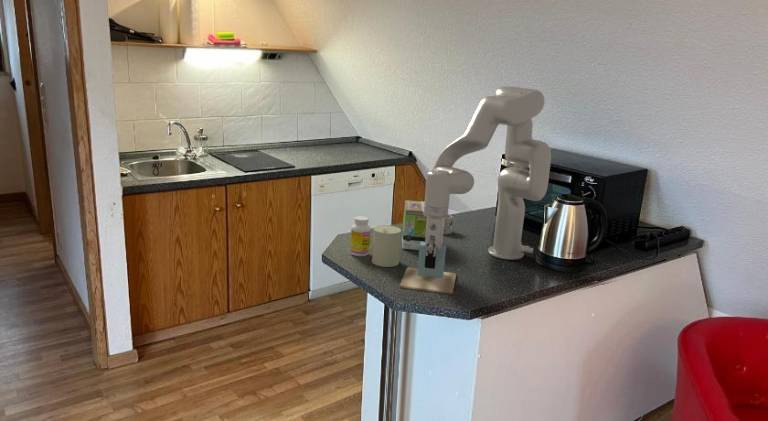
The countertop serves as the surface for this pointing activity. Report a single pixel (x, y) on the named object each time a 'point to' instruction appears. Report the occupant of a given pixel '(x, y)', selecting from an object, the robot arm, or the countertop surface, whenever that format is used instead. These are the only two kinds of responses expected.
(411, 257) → the countertop surface
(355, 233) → the supplement bottle
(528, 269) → the countertop surface
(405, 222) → the tea box
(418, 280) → the mat
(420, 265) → the slab
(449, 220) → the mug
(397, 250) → the can
